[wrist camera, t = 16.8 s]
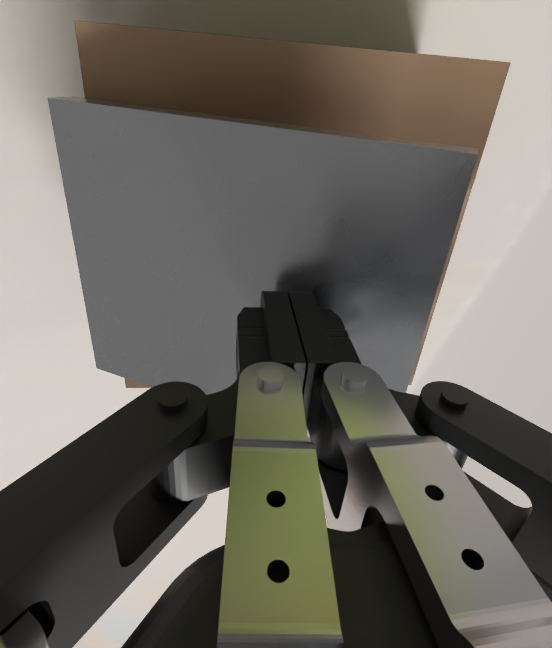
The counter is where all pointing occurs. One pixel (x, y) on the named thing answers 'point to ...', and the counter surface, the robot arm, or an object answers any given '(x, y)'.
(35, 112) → the counter surface
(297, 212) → the panel
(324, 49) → the hole block
